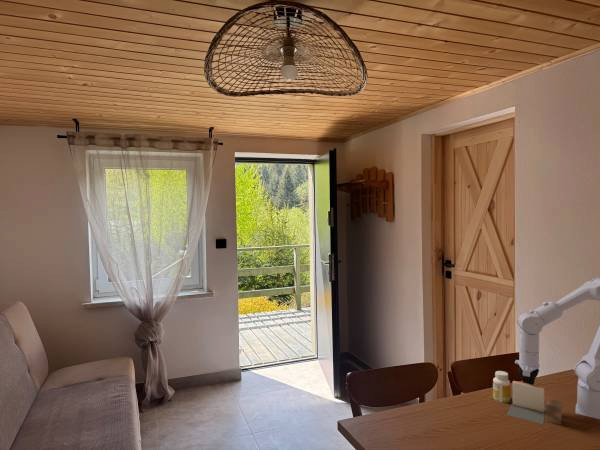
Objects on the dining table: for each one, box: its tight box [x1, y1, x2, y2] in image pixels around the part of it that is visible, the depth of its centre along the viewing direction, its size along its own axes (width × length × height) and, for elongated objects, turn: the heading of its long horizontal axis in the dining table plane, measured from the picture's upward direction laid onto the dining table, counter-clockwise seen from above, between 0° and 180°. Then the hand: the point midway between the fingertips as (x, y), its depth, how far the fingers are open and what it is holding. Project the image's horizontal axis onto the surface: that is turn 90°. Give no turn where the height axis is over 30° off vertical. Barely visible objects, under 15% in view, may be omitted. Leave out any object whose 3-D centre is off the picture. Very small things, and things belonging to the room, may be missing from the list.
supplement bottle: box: [492, 370, 511, 403], centre depth 141 cm, size 5×5×10 cm
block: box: [545, 399, 563, 426], centre depth 127 cm, size 4×4×6 cm
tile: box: [511, 380, 545, 412], centre depth 135 cm, size 9×1×8 cm, turn 55°
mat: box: [506, 399, 546, 425], centre depth 133 cm, size 10×13×1 cm
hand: (528, 390), depth 136 cm, fingers closed
